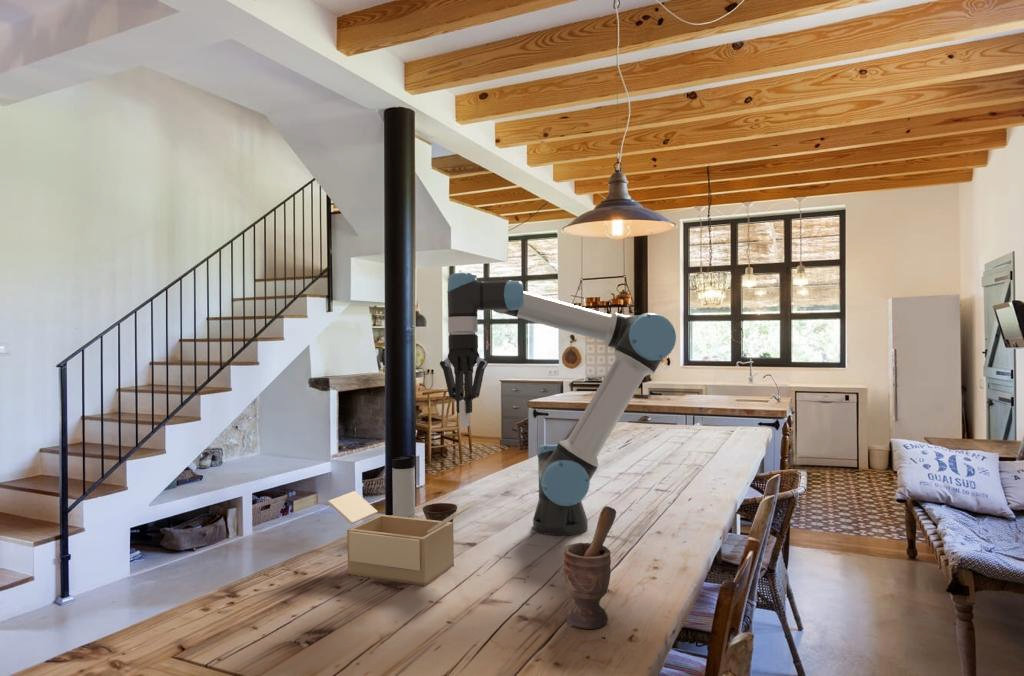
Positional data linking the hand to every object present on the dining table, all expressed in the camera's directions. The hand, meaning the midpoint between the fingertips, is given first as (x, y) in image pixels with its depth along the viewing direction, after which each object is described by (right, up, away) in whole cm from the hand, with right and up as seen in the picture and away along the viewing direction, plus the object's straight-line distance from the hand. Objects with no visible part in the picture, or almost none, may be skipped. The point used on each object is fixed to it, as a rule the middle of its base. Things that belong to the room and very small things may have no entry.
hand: (464, 425), depth 160 cm
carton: (-13, -31, -17) cm, 37 cm away
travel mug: (-18, -31, +17) cm, 40 cm away
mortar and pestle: (+27, -30, -44) cm, 59 cm away
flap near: (-4, -20, -21) cm, 29 cm away
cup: (-6, -31, +2) cm, 31 cm away
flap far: (-22, -20, -14) cm, 33 cm away
